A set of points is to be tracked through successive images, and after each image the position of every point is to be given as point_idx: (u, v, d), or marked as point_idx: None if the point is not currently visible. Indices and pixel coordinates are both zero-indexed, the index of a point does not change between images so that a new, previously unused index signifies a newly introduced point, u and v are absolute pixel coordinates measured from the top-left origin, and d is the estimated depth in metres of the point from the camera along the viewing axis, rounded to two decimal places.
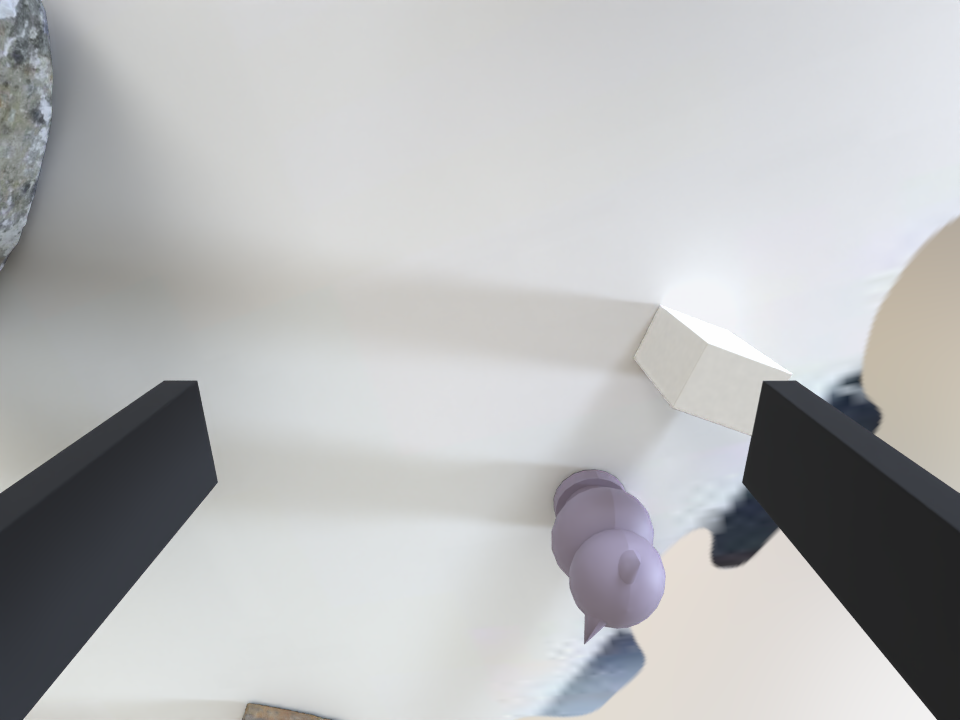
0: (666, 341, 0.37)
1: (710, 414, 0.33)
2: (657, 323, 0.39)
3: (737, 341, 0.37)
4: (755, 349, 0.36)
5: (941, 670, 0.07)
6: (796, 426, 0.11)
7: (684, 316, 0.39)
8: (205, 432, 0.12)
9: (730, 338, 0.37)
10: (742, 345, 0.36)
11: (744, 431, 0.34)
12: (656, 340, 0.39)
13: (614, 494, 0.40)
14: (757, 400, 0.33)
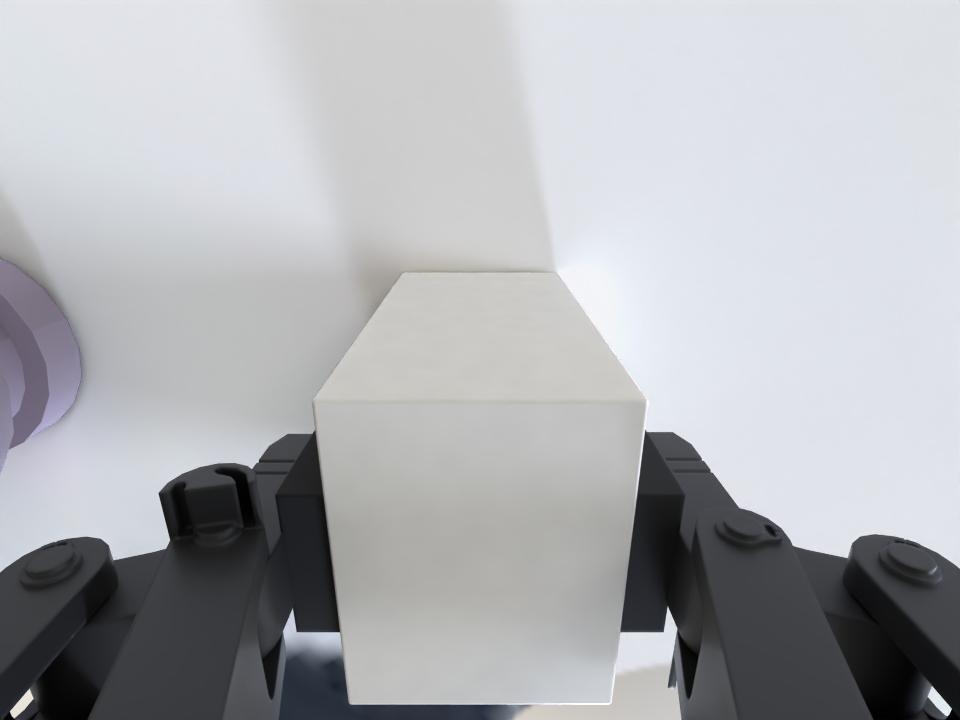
0: (505, 306, 0.12)
1: (356, 546, 0.08)
2: (521, 280, 0.15)
3: None
4: None
5: None
6: None
7: None
8: None
9: None
10: None
11: (352, 673, 0.09)
12: (482, 289, 0.13)
13: None
14: (481, 658, 0.09)
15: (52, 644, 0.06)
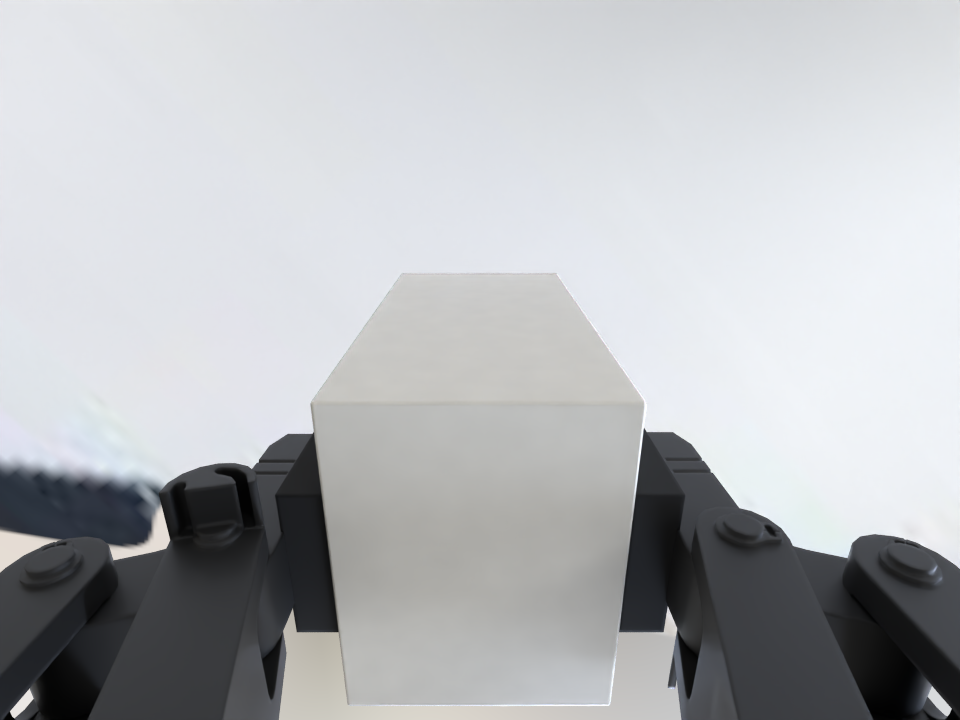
0: (504, 307, 0.12)
1: (355, 548, 0.08)
2: (520, 281, 0.15)
3: None
4: None
5: None
6: None
7: None
8: None
9: None
10: None
11: (350, 674, 0.09)
12: (481, 290, 0.14)
13: None
14: (479, 660, 0.09)
15: (52, 644, 0.06)
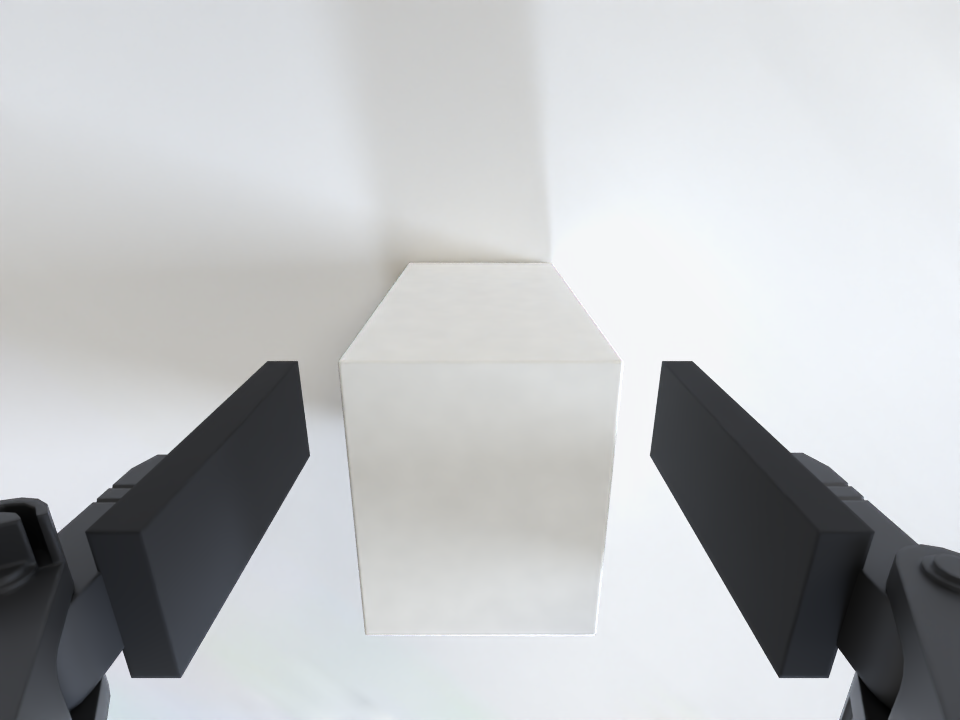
0: (503, 290, 0.13)
1: (374, 491, 0.09)
2: (518, 269, 0.16)
3: None
4: None
5: (761, 600, 0.09)
6: (681, 399, 0.12)
7: None
8: (301, 409, 0.14)
9: None
10: None
11: (368, 606, 0.10)
12: (483, 276, 0.15)
13: None
14: (481, 592, 0.10)
15: None
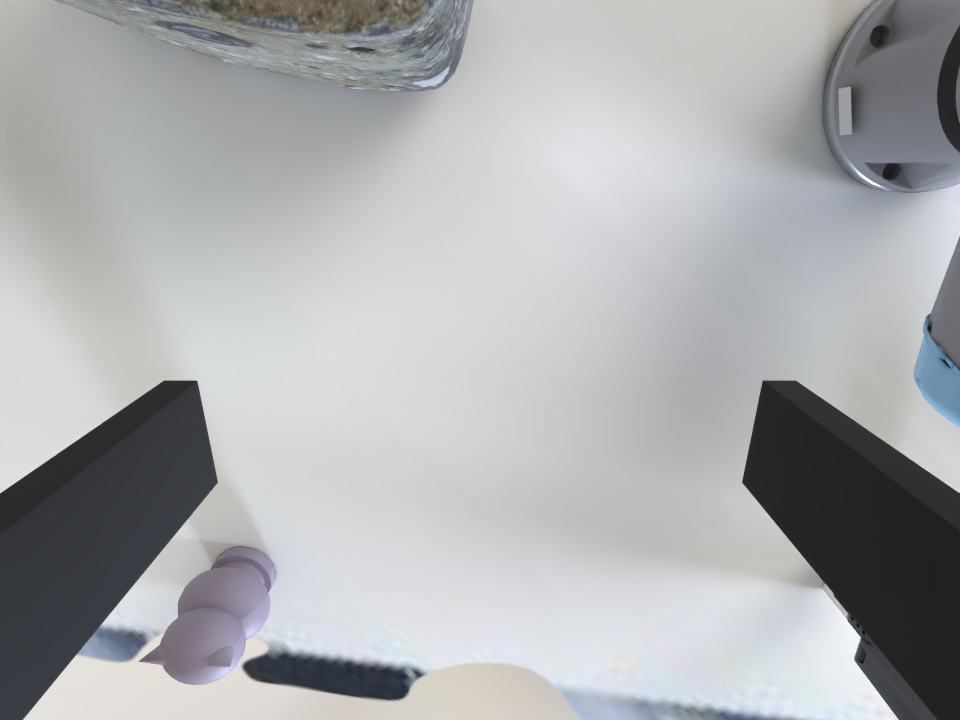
0: None
1: None
2: None
3: None
4: None
5: (941, 670, 0.07)
6: (796, 426, 0.11)
7: None
8: (205, 432, 0.12)
9: None
10: None
11: None
12: None
13: (264, 600, 0.51)
14: None
15: None
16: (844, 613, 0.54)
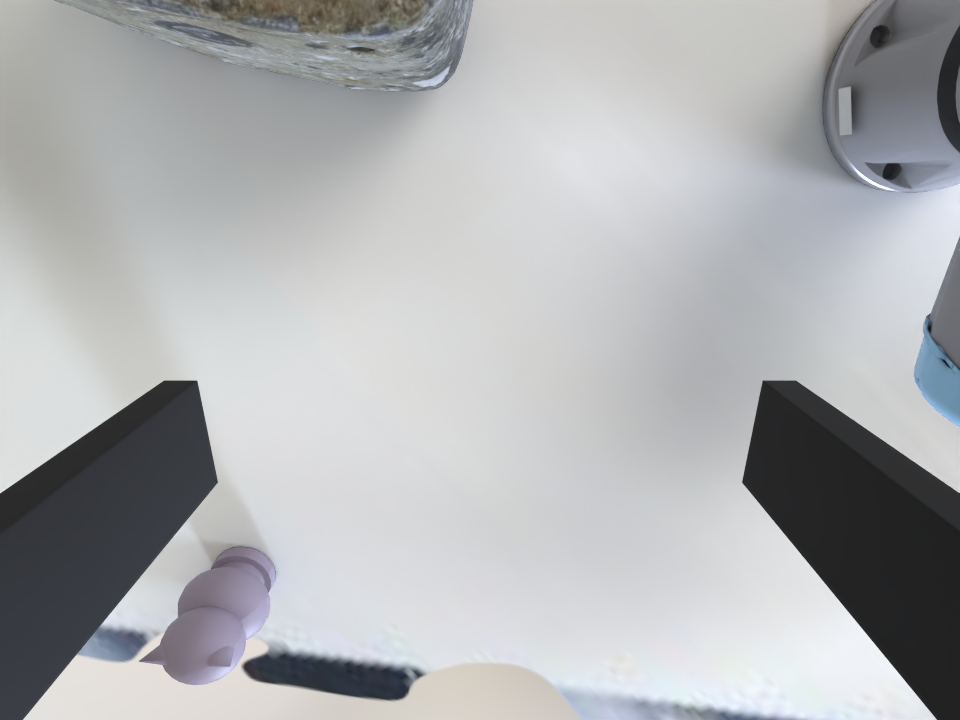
0: None
1: None
2: None
3: None
4: None
5: (941, 670, 0.07)
6: (796, 426, 0.11)
7: None
8: (205, 432, 0.12)
9: None
10: None
11: None
12: None
13: (264, 600, 0.51)
14: None
15: None
16: None
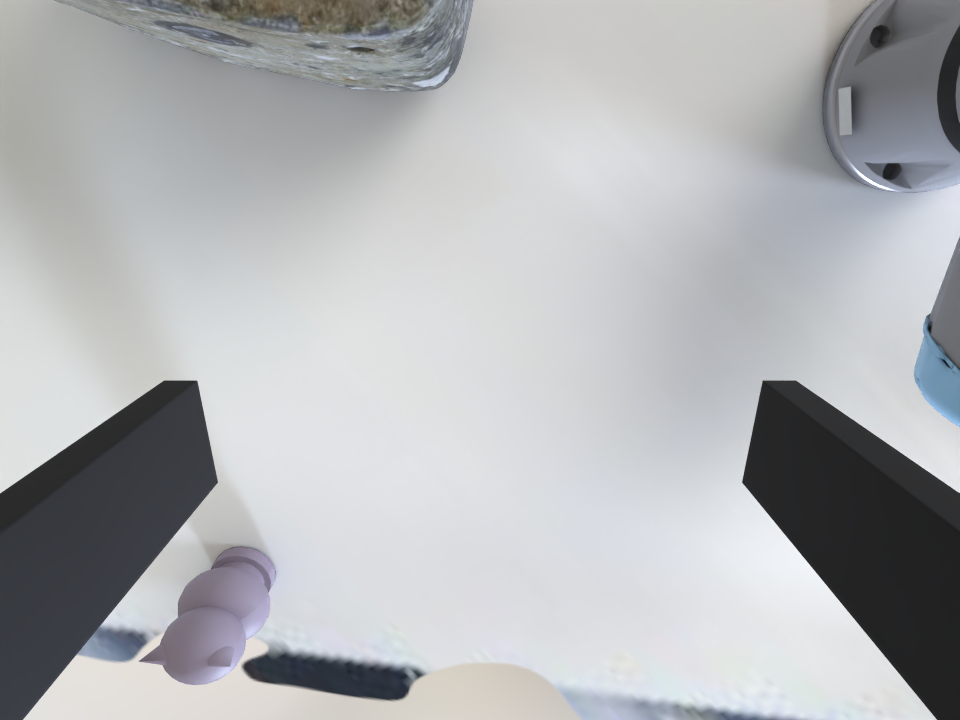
0: None
1: None
2: None
3: None
4: None
5: (941, 670, 0.07)
6: (796, 426, 0.11)
7: None
8: (205, 432, 0.12)
9: None
10: None
11: None
12: None
13: (264, 600, 0.51)
14: None
15: None
16: None
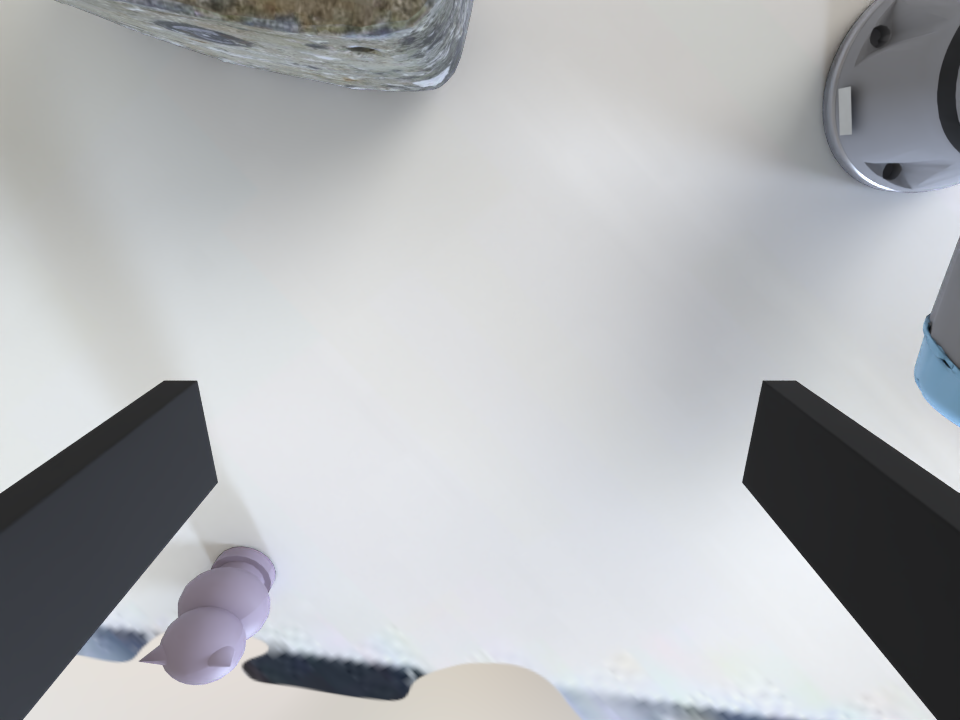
0: None
1: None
2: None
3: None
4: None
5: (941, 670, 0.07)
6: (796, 426, 0.11)
7: None
8: (205, 432, 0.12)
9: None
10: None
11: None
12: None
13: (264, 600, 0.51)
14: None
15: None
16: None
